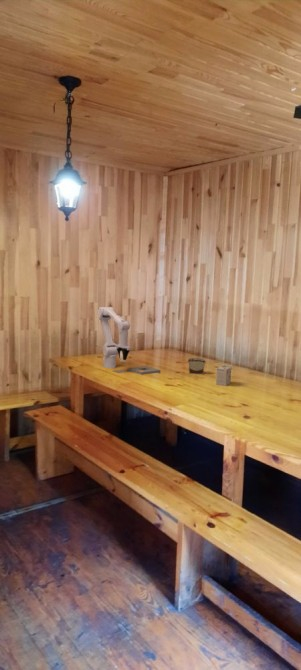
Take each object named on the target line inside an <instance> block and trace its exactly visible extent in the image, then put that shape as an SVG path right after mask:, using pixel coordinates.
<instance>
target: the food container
mask: <svg viewBox="0 0 301 670" xmlns="http://www.w3.org/2000/svg"><path fill="white" fill-rule="evenodd" d="M206 362H207V361H206V359H203V358H198V357H192V358H188V360H187V363H188V372H189V373H190V375H191V374H192V375H193V374H194V375H204V370H205V364H206ZM189 373H188V374H189Z"/></svg>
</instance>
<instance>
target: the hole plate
mask: <svg viewBox="0 0 301 670" xmlns="http://www.w3.org/2000/svg"><path fill="white" fill-rule="evenodd" d="M127 372H133V373H136V374H138V375H141V376H143V375H149V374H150V375H151V374H161V369H157V368H155V367H152V366H151V367H150V366H149V365H143V366H135V367H133V366H132V367H127Z"/></svg>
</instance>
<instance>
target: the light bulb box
mask: <svg viewBox="0 0 301 670" xmlns="http://www.w3.org/2000/svg"><path fill="white" fill-rule="evenodd" d="M232 367H233V366H229V365H221V366H219V367H216V378H215V379H216V380H215V385H216V386H224V387H227V385H229V384H231V382H232Z"/></svg>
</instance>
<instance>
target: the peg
mask: <svg viewBox="0 0 301 670" xmlns="http://www.w3.org/2000/svg"><path fill="white" fill-rule="evenodd" d="M126 361H127V359H126V360H123V353H122V351H120V358H119V362H121V363H125V362H126Z"/></svg>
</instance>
